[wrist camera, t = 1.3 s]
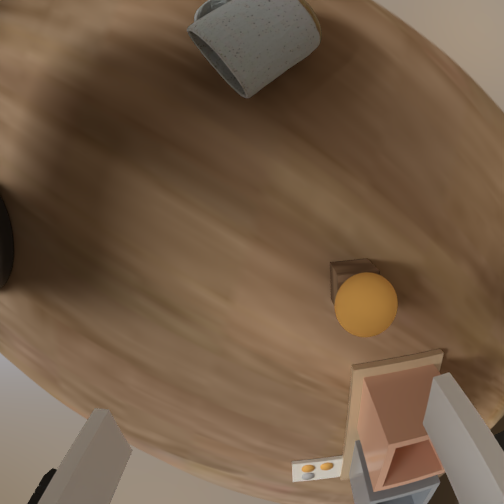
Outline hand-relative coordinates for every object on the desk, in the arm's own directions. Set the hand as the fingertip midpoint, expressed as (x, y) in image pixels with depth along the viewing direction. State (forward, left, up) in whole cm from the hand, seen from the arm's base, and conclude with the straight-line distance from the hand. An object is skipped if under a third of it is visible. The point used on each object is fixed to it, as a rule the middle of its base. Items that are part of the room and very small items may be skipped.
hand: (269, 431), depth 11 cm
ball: (+7, -1, -16) cm, 17 cm away
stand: (+7, -1, -19) cm, 20 cm away
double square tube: (+13, -22, -19) cm, 32 cm away
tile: (+4, -30, -19) cm, 36 cm away
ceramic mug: (0, +21, -19) cm, 28 cm away
